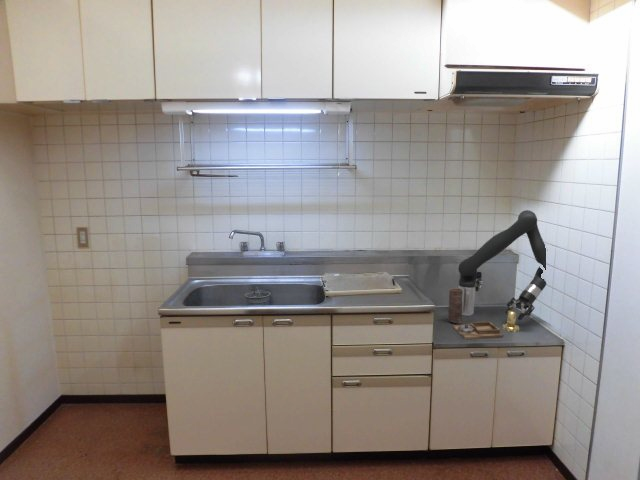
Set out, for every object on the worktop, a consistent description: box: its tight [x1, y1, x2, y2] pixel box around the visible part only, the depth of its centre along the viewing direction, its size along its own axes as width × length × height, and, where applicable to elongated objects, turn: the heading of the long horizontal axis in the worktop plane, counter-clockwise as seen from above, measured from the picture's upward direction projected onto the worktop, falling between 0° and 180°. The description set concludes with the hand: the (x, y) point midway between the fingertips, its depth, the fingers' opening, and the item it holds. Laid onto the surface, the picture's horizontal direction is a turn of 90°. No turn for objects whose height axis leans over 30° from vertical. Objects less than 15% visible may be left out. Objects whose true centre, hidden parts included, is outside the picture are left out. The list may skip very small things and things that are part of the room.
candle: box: [447, 287, 463, 325], centre depth 232 cm, size 8×7×20 cm
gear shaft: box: [502, 309, 520, 333], centre depth 222 cm, size 8×8×10 cm
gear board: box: [452, 321, 504, 340], centre depth 219 cm, size 16×20×5 cm
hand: (512, 316), depth 222 cm, fingers open, 8 cm apart
